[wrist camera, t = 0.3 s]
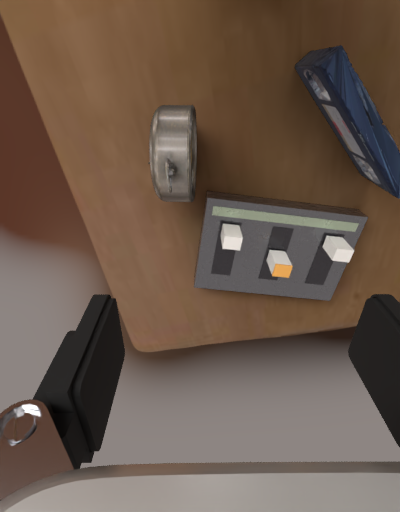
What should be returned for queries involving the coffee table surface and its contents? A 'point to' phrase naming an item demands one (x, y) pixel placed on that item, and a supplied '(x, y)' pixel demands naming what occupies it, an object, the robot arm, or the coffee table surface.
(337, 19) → the coffee table surface
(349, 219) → the breaker panel
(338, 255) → the block
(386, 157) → the vhs cassette tape
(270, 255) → the block
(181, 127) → the dial indicator gauge
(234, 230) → the breaker
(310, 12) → the coffee table surface
